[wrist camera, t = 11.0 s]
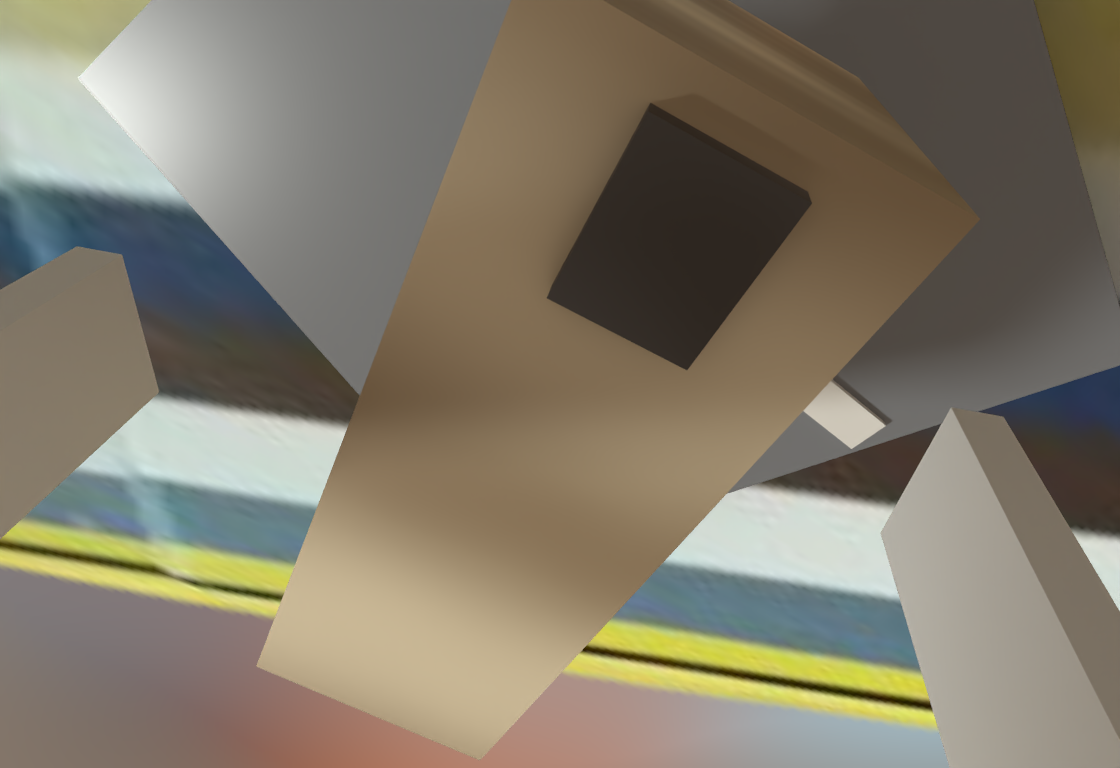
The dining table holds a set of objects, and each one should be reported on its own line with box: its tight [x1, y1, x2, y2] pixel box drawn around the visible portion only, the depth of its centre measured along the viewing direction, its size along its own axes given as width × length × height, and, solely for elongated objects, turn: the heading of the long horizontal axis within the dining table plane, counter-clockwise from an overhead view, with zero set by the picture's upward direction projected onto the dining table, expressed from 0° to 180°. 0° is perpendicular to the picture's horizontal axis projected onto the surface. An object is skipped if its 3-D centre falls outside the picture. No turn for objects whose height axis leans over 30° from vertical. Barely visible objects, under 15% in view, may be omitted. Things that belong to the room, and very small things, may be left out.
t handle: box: [257, 0, 980, 760], centre depth 12 cm, size 12×4×6 cm, turn 154°
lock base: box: [78, 0, 1120, 493], centre depth 17 cm, size 20×20×6 cm
